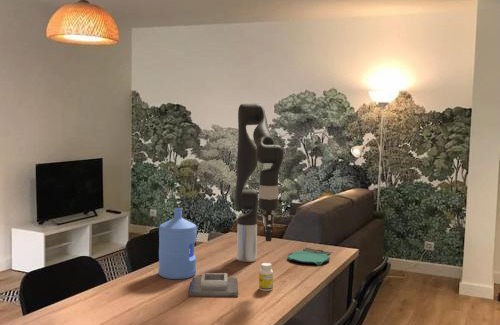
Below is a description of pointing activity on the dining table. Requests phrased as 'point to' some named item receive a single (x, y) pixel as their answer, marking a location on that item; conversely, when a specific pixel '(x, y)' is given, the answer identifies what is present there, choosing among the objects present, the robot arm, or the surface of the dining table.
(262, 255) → the dining table surface
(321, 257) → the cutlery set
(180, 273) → the water jug
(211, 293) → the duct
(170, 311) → the dining table surface
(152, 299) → the dining table surface
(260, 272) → the supplement bottle
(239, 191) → the robot arm
